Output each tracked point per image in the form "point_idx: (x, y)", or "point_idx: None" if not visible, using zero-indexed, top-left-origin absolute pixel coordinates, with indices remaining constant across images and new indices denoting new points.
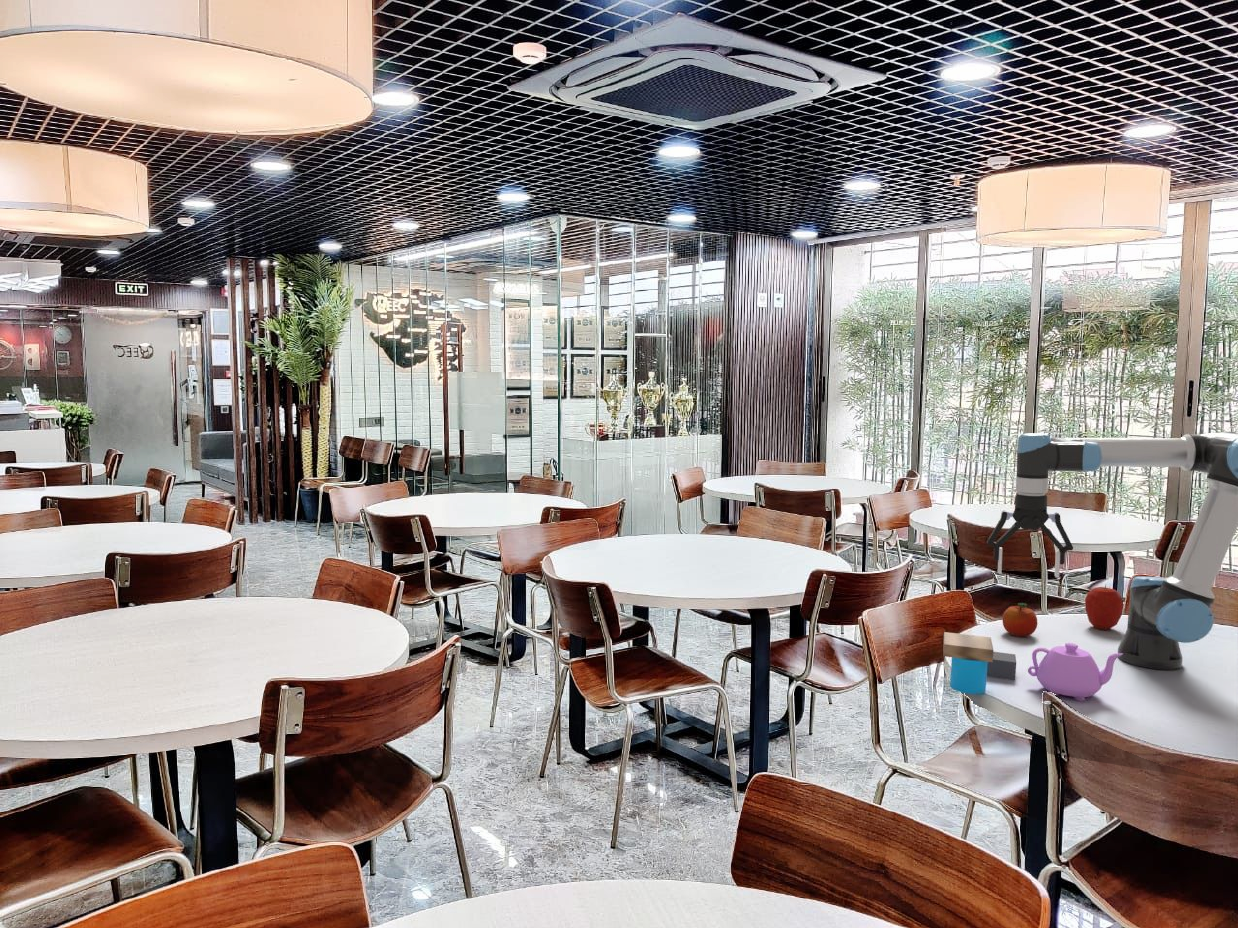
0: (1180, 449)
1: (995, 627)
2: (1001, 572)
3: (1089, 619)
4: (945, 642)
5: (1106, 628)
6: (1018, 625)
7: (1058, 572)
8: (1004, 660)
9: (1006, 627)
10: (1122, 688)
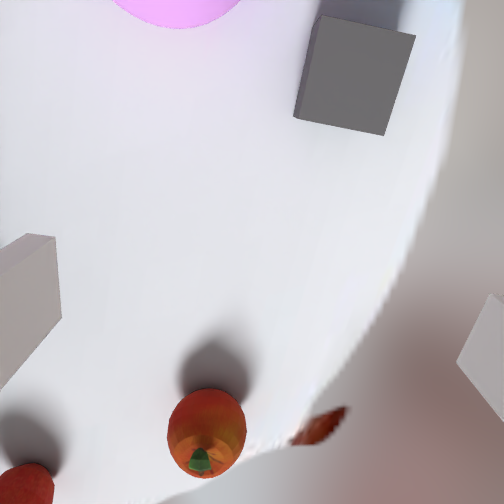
0: None
1: (251, 435)
2: (498, 299)
3: (51, 487)
4: None
5: (25, 464)
6: (217, 402)
7: (3, 253)
8: (357, 28)
9: (240, 407)
10: (14, 33)
